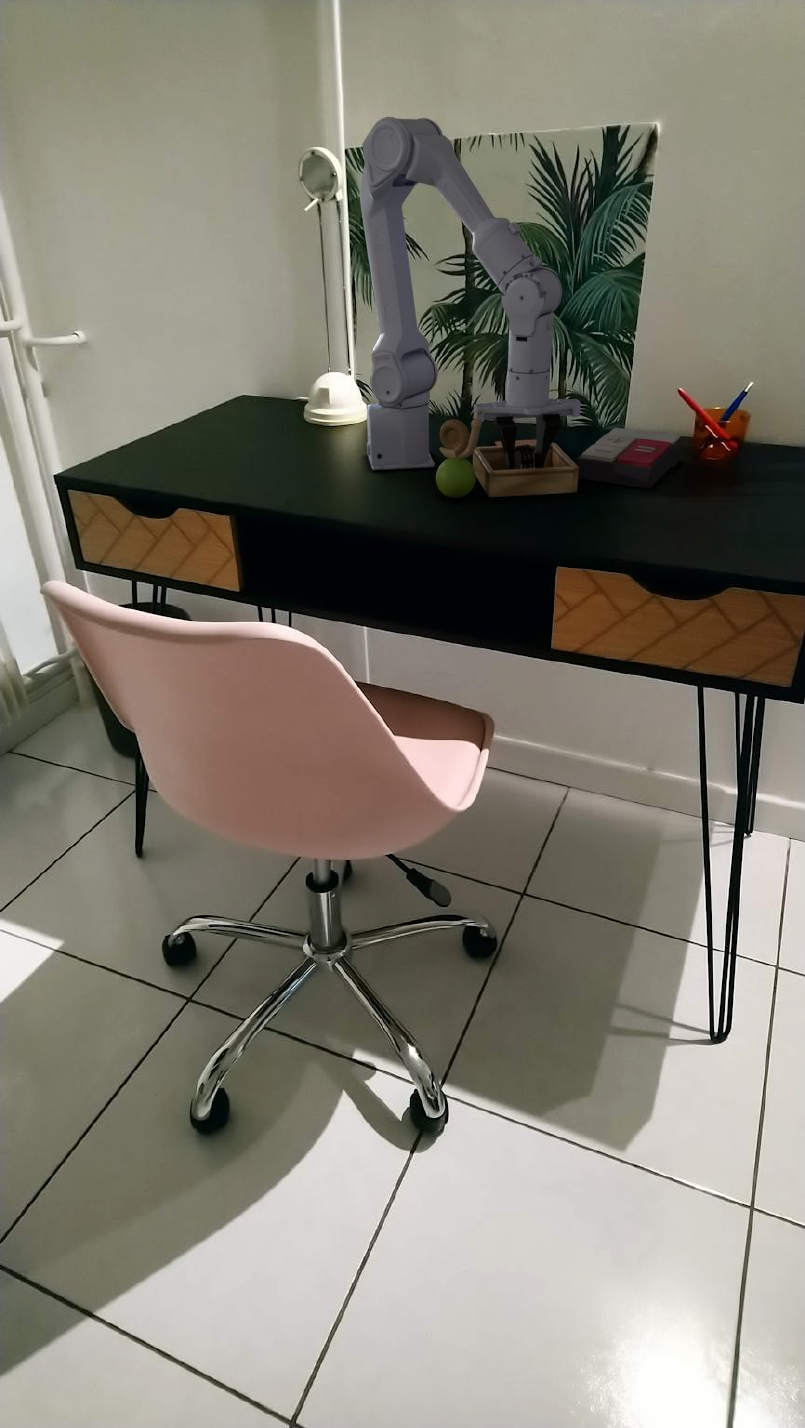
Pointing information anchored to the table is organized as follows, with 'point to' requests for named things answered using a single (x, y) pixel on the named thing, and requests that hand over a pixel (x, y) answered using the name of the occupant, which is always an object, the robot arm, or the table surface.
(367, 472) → the table surface
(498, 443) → the coaster
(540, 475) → the wooden box
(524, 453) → the smartwatch
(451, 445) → the snail figurine
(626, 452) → the grey and red box
